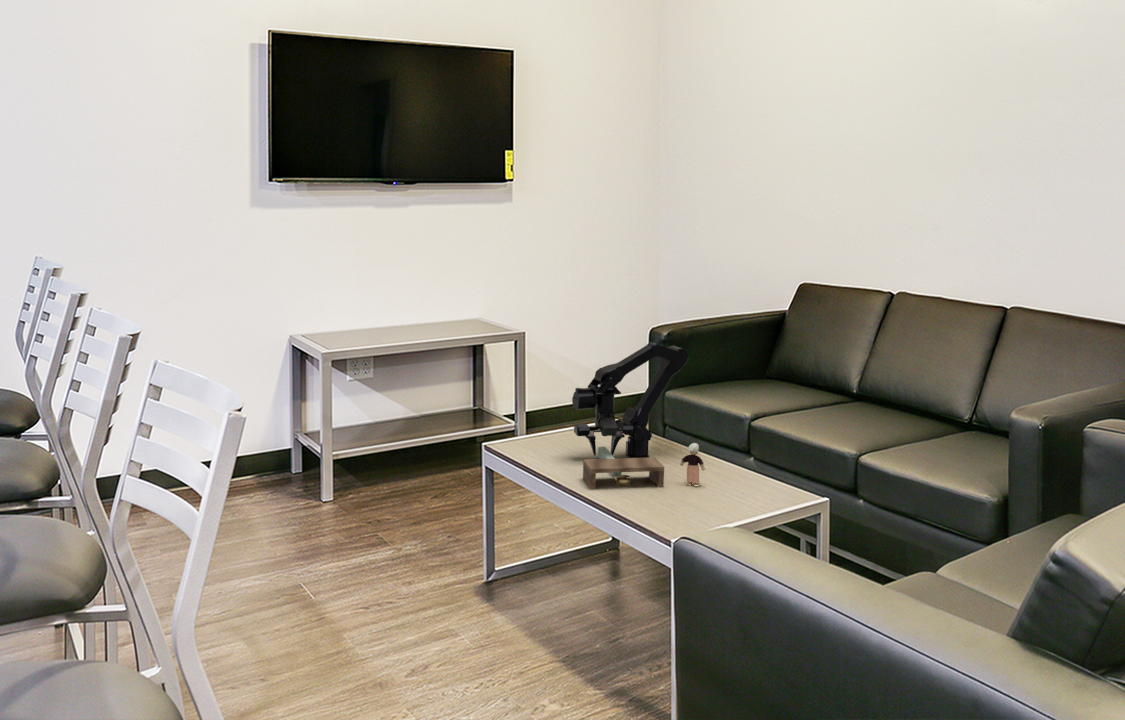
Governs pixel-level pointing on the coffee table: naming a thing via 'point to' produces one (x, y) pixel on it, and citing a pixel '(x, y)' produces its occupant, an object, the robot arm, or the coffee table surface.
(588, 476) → the walnut shelf
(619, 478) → the brass disc
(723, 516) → the coffee table surface
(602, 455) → the green blade
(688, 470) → the grandmother figurine
